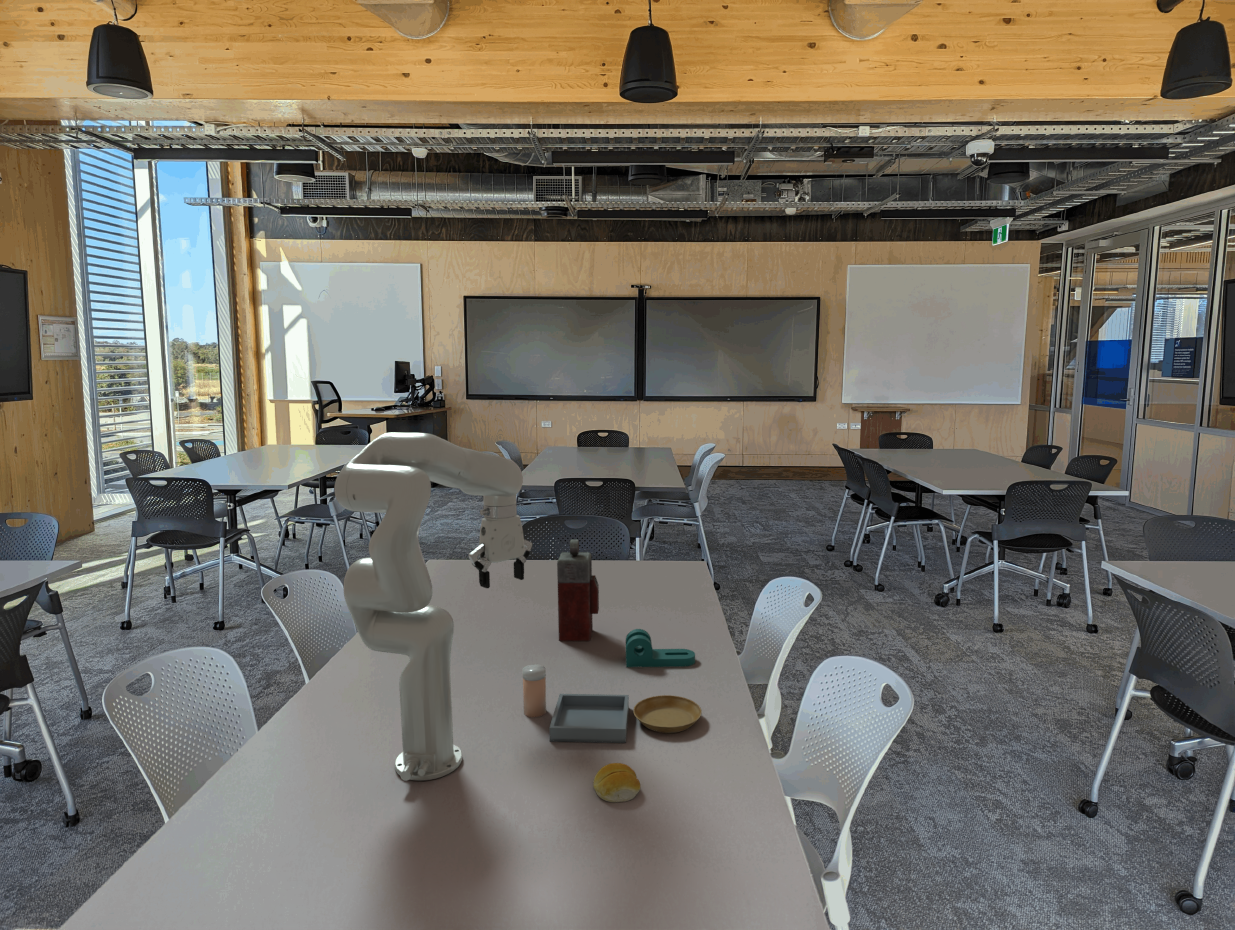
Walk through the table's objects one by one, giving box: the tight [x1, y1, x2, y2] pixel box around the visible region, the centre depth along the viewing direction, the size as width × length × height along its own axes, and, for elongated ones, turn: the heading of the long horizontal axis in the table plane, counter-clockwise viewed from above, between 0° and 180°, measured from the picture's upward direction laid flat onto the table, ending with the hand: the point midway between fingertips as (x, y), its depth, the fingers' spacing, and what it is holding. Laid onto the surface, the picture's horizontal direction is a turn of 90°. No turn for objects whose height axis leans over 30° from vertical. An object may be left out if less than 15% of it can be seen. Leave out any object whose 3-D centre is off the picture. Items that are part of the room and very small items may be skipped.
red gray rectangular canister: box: [556, 539, 600, 642], centre depth 206 cm, size 9×11×28 cm
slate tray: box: [548, 693, 630, 744], centre depth 155 cm, size 16×16×3 cm
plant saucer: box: [633, 694, 702, 734], centre depth 157 cm, size 15×15×3 cm
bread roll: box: [592, 762, 641, 803], centre depth 131 cm, size 8×9×4 cm
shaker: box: [521, 663, 547, 718], centre depth 161 cm, size 5×5×10 cm
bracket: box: [625, 628, 696, 668], centre depth 188 cm, size 18×7×8 cm, turn 90°
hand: (502, 582), depth 171 cm, fingers open, 9 cm apart
